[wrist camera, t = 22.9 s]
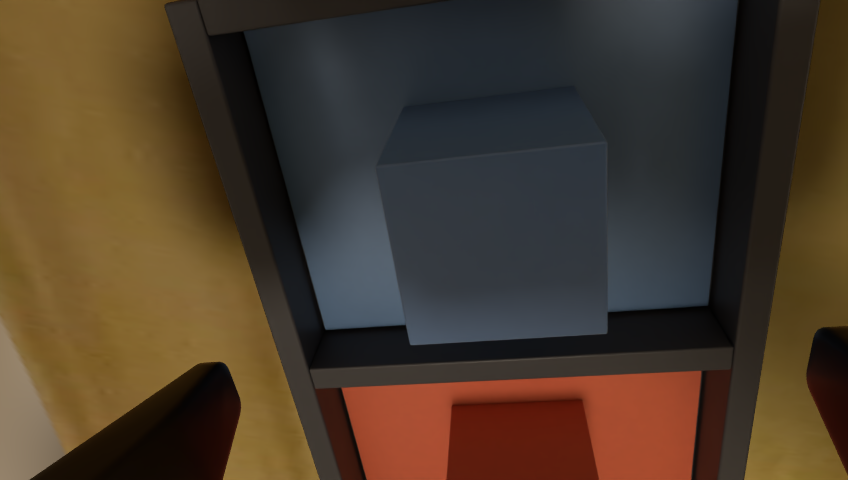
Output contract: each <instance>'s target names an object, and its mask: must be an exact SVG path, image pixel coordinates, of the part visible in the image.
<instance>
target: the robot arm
mask: <svg viewBox="0 0 848 480" xmlns="http://www.w3.org/2000/svg"><path fill="white" fill-rule="evenodd" d="M806 377H807V384H808V388H809V390H810V392H811V395H812V397H813V399H814V401H815V404H816V406H817V408H818V410H819V412H820V415H821V417H822V419H823V421H824V424H825V426H826V428H827V430H828V432H829V435H830V437H831V439H832V441H833V444H834V446H835V448H836V450H837V452H838V455H839V457H840V459H841V461H842V464H843V466H844V468H845V470H846V472H847V474H848V326H839V327H823V328H820V329H818V330H817V331H816V333H815V335H814V338H813V343H812V348H811V353H810V357H809V362H808V367H807V373H806ZM240 411H241V402H240V397H239V395H238V392H237V390H236V387H235V384H234V382H233V379H232V377H231V374H230V371H229V369H228V367H227V366H226V365H225V364H224V363H222V362H208V363H200V364H197V365H196V366H194V367H193V368H191V369H190V370H188V371H187V372H186V373H184V374H183V375H181V376H180V377H178V378H177V379H175V380H174V381H172V382H171V383H170V384H168V385H167V386H165V387H164V388H162V389H161V390H159V391H158V392H156V393H155V394H154V395H152V396H151V397H149V398H148V399H146V400H145V401H143V402H142V403H140V404H139V405H138V406H136V407H135V408H133V409H132V410H130V411H129V412H127V413H126V414H124V415H123V416H122V417H120V418H119V419H117V420H116V421H114V422H113V423H111V424H110V425H108V426H107V427H106V428H104V429H103V430H101V431H100V432H98V433H97V434H95V435H94V436H92V437H91V438H90V439H88V440H87V441H85V442H84V443H82V444H81V445H79V446H78V447H76V448H75V449H74V450H72V451H71V452H69V453H68V454H66V455H65V456H63V457H62V458H61V459H59V460H58V461H56V462H55V463H53V464H52V465H50V466H49V467H47V468H46V469H45V470H43V471H42V472H40V473H39V474H37V475H36V476H34V477H33V478H31V479H30V480H223V476H224V473H225V469H226V465H227V461H228V458H229V454H230V450H231V446H232V443H233V439H234V435H235V431H236V428H237V424H238V420H239V416H240Z"/></svg>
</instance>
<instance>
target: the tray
mask: <svg viewBox="0 0 848 480" xmlns="http://www.w3.org/2000/svg"><path fill="white" fill-rule="evenodd" d="M819 6H820V0H179V1H174V2H170V3H167V4H165V10H166V13H167V16H168V19H169V22H170V25H171V28H172V31H173V34H174V37H175V40H176V43H177V46H178V49H179V52H180V55H181V59H182V62H183V65H184V68H185V71H186V74H187V77H188V80H189V83H190V86H191V89H192V92H193V95H194V98H195V101H196V104H197V107H198V110H199V113H200V116H201V119H202V122H203V125H204V128H205V132H206V135H207V138H208V141H209V144H210V147H211V150H212V153H213V156H214V159H215V162H216V165H217V168H218V171H219V174H220V177H221V180H222V183H223V186H224V189H225V192H226V195H227V198H228V201H229V205H230V208H231V211H232V214H233V217H234V220H235V223H236V226H237V229H238V232H239V235H240V238H241V241H242V244H243V247H244V250H245V253H246V256H247V259H248V262H249V265H250V268H251V271H252V274H253V278H254V281H255V284H256V287H257V290H258V293H259V296H260V299H261V302H262V305H263V308H264V311H265V314H266V317H267V320H268V323H269V326H270V329H271V332H272V335H273V338H274V341H275V344H276V347H277V351H278V354H279V357H280V360H281V363H282V366H283V369H284V372H285V375H286V378H287V381H288V384H289V387H290V390H291V393H292V396H293V399H294V402H295V405H296V408H297V411H298V414H299V417H300V420H301V424H302V427H303V430H304V433H305V436H306V439H307V442H308V445H309V448H310V451H311V454H312V457H313V460H314V463H315V466H316V469H317V472H318V475H319V478H320V480H446V478H447V464H448V450H449V435H450V421H451V407H452V405H470V404H494V403H518V402H541V401H565V400H582V401H583V404H584V409H585V414H586V418H587V423H588V428H589V433H590V437H591V442H592V447H593V452H594V457H595V461H596V466H597V471H598V476H599V480H744V476H745V470H746V464H747V457H748V451H749V445H750V439H751V432H752V426H753V420H754V414H755V407H756V401H757V395H758V388H759V382H760V376H761V370H762V363H763V357H764V351H765V345H766V338H767V332H768V326H769V320H770V313H771V307H772V301H773V294H774V288H775V282H776V276H777V269H778V263H779V257H780V251H781V244H782V238H783V232H784V225H785V219H786V213H787V207H788V200H789V194H790V188H791V182H792V175H793V169H794V163H795V156H796V150H797V144H798V138H799V131H800V125H801V119H802V113H803V106H804V100H805V94H806V88H807V81H808V75H809V69H810V62H811V56H812V50H813V44H814V37H815V31H816V25H817V19H818V12H819ZM569 86H574V87H575V88H576V90H577V91H578V93H579V95H580V97H581V98H582V100H583V102H584V103H585V105H586V107H587V108H588V110H589V112H590V114H591V115H592V117H593V119H594V120H595V122H596V124H597V125H598V127H599V129H600V131H601V132H602V134H603V136H604V137H605V139H606V141H607V143H608V331H607V333H606V334H596V335H579V336H562V337H545V338H528V339H511V340H494V341H477V342H460V343H443V344H426V345H410V343H409V338H408V333H407V328H406V323H405V318H404V312H403V307H402V302H401V297H400V292H399V287H398V282H397V277H396V272H395V267H394V262H393V257H392V252H391V246H390V241H389V236H388V231H387V226H386V221H385V216H384V211H383V206H382V201H381V196H380V191H379V186H378V180H377V175H376V170H375V166H376V164H377V162H378V160H379V158H380V156H381V153H382V151H383V149H384V147H385V145H386V143H387V141H388V139H389V136H390V134H391V132H392V130H393V128H394V126H395V124H396V122H397V119H398V117H399V115H400V113H401V111H402V109H403V107H406V106H415V105H423V104H431V103H439V102H447V101H455V100H463V99H472V98H480V97H488V96H496V95H504V94H512V93H520V92H529V91H537V90H545V89H553V88H561V87H569Z"/></svg>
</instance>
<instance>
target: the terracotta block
mask: <svg viewBox="0 0 848 480" xmlns="http://www.w3.org/2000/svg"><path fill="white" fill-rule="evenodd" d="M446 480H599V476H598V471H597V466H596V461H595V457H594V452H593V447H592V442H591V437H590V433H589V428H588V423H587V418H586V414H585V409H584V404H583V401H582V400H565V401H541V402H518V403H494V404H470V405H452V407H451V421H450V435H449V450H448V464H447V478H446Z"/></svg>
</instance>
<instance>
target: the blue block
mask: <svg viewBox="0 0 848 480" xmlns="http://www.w3.org/2000/svg"><path fill="white" fill-rule="evenodd" d="M375 170H376V175H377V180H378V186H379V191H380V196H381V201H382V206H383V211H384V216H385V221H386V226H387V231H388V236H389V241H390V246H391V252H392V257H393V262H394V267H395V272H396V277H397V282H398V287H399V292H400V297H401V302H402V307H403V312H404V318H405V323H406V328H407V333H408V338H409V343H410V345H426V344H443V343H460V342H477V341H494V340H511V339H528V338H545V337H562V336H579V335H596V334H606V333H607V331H608V143H607V141H606V139H605V137H604V136H603V134H602V132H601V131H600V129H599V127H598V125H597V124H596V122H595V120H594V119H593V117H592V115H591V114H590V112H589V110H588V108H587V107H586V105H585V103H584V102H583V100H582V98H581V97H580V95H579V93H578V91H577V90H576V88H575V87H574V86H569V87H561V88H553V89H545V90H537V91H529V92H520V93H512V94H504V95H496V96H488V97H480V98H472V99H463V100H455V101H447V102H439V103H431V104H423V105H415V106H406V107H403V109H402V111H401V113H400V115H399V117H398V119H397V122H396V124H395V126H394V128H393V130H392V132H391V134H390V136H389V139H388V141H387V143H386V145H385V147H384V149H383V151H382V153H381V156H380V158H379V160H378V162H377V164H376V166H375Z"/></svg>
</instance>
